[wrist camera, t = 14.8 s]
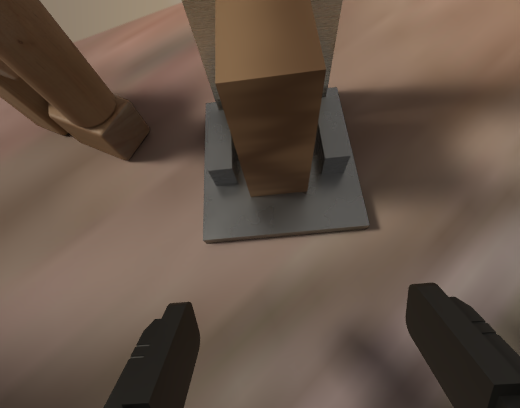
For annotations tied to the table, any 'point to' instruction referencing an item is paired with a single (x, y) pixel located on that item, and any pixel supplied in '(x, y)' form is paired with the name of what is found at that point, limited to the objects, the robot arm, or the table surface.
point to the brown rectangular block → (270, 89)
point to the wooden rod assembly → (61, 83)
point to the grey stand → (323, 162)
